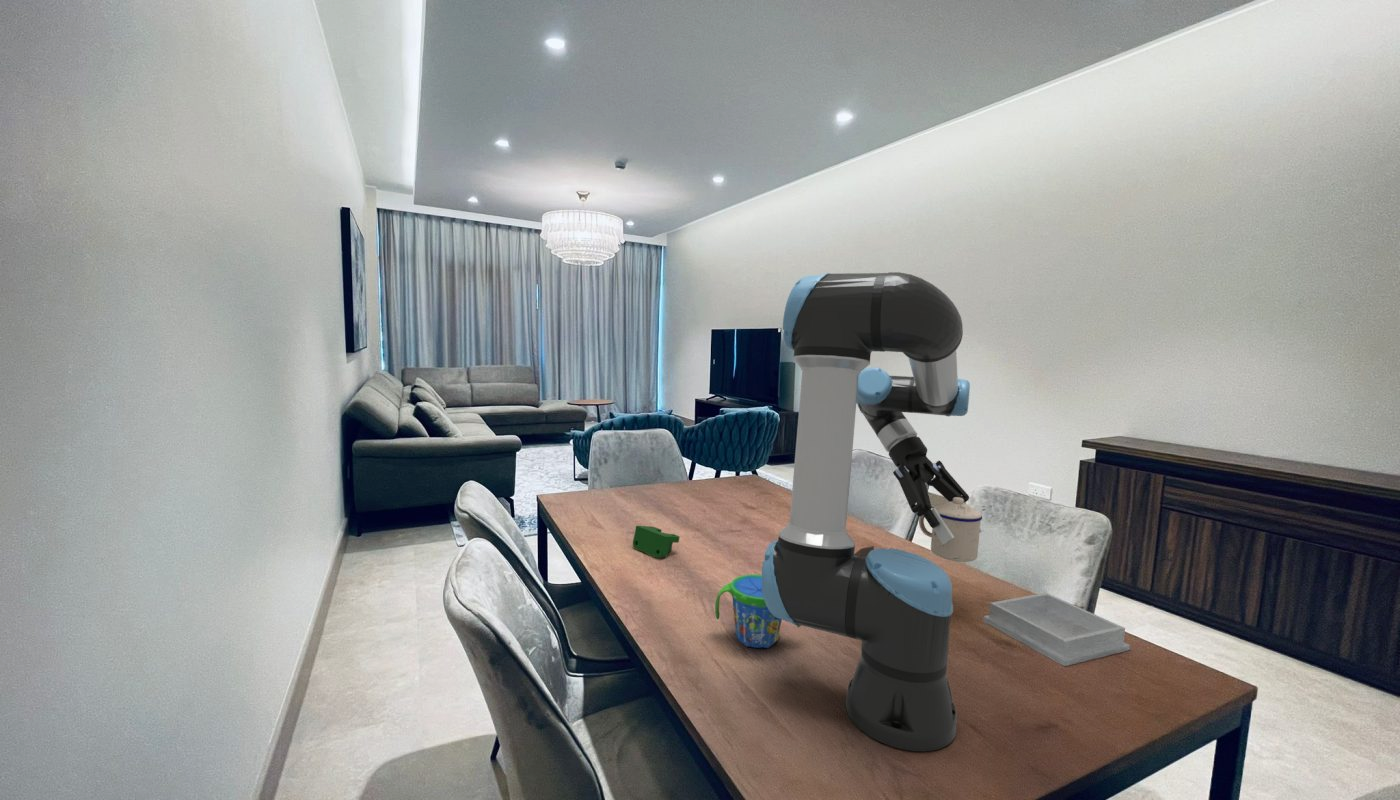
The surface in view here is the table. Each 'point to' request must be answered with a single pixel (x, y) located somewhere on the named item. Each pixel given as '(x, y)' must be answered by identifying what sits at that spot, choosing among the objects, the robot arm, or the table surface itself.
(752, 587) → the snack cup
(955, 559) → the teacup with lid
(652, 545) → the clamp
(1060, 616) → the rectangular tray
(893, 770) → the table surface
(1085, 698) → the table surface
